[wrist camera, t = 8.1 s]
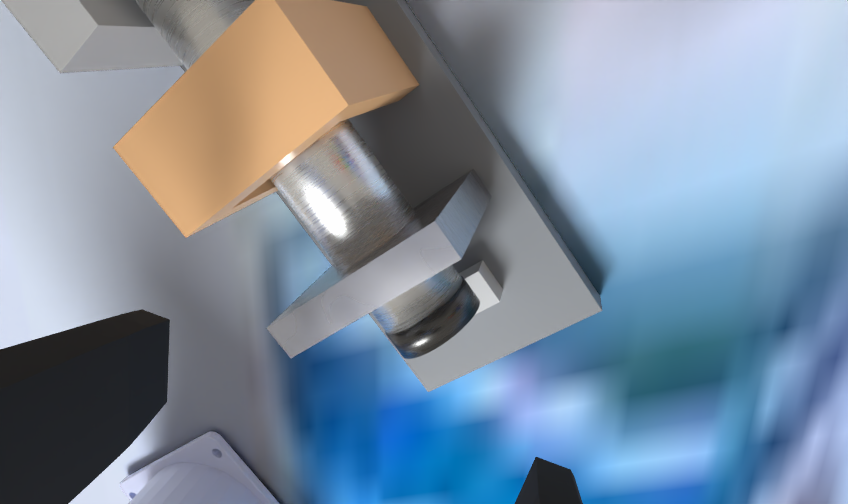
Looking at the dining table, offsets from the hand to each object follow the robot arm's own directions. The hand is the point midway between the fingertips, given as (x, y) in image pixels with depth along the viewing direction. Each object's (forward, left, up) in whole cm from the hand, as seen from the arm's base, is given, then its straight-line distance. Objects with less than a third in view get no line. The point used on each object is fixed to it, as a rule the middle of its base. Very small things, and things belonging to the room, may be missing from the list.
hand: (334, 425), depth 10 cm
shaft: (+5, 0, -8) cm, 9 cm away
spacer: (+6, 0, -8) cm, 10 cm away
